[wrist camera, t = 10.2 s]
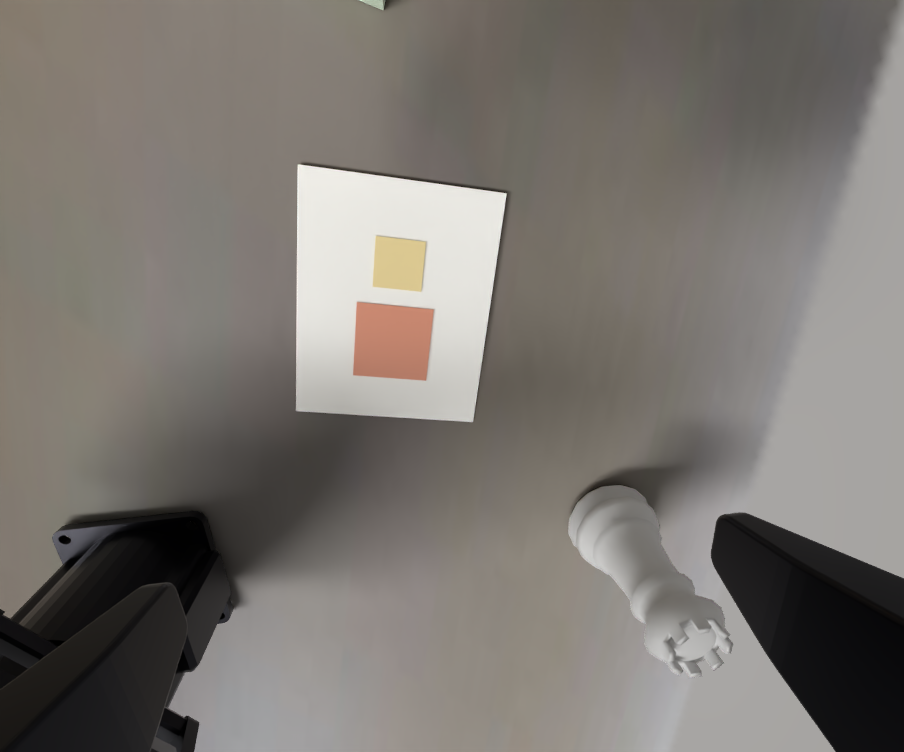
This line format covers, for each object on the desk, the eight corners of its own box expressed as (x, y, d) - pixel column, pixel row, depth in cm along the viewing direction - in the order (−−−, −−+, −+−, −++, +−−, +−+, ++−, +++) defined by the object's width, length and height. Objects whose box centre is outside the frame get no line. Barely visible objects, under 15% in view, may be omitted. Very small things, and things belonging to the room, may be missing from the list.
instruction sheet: (472, 420, 21) (473, 422, 21) (296, 409, 20) (295, 411, 20) (505, 193, 18) (507, 193, 18) (298, 164, 17) (297, 164, 16)
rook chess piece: (621, 464, 23) (730, 584, 15) (658, 519, 24) (775, 654, 17) (549, 512, 23) (620, 652, 16) (590, 563, 25) (673, 713, 17)
